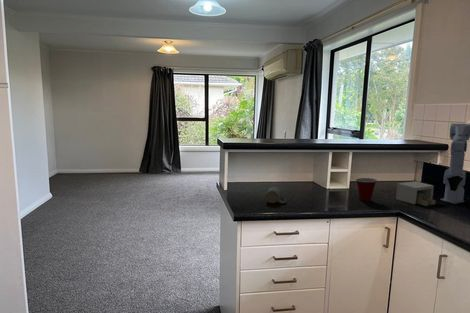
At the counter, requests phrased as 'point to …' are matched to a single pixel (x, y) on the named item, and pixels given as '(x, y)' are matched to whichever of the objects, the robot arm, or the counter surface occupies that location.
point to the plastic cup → (365, 188)
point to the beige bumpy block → (424, 199)
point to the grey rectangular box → (412, 191)
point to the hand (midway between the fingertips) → (453, 190)
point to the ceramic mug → (275, 195)
